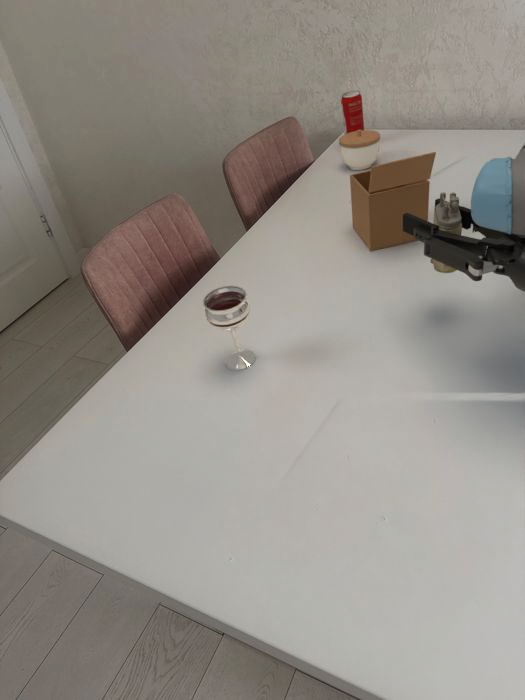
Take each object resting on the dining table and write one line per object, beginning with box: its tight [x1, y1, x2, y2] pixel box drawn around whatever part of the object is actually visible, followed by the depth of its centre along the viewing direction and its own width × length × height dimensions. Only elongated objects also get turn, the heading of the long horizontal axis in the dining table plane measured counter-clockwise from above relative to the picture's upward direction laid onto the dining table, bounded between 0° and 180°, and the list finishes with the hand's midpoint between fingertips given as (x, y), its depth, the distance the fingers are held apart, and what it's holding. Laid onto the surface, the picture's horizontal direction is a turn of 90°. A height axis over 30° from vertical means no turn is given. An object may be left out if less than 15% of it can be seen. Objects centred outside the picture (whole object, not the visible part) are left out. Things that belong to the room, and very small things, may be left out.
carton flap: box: [369, 151, 437, 193], centre depth 90 cm, size 6×12×1 cm
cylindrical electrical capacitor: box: [430, 192, 463, 274], centre depth 72 cm, size 7×4×10 cm, turn 171°
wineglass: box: [202, 285, 256, 371], centre depth 77 cm, size 7×7×12 cm
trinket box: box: [338, 129, 381, 171], centre depth 133 cm, size 11×11×9 cm
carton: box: [349, 169, 431, 252], centre depth 101 cm, size 12×12×12 cm
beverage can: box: [340, 90, 365, 135], centre depth 144 cm, size 6×6×15 cm
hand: (421, 214), depth 76 cm, fingers closed on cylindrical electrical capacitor, 6 cm apart
